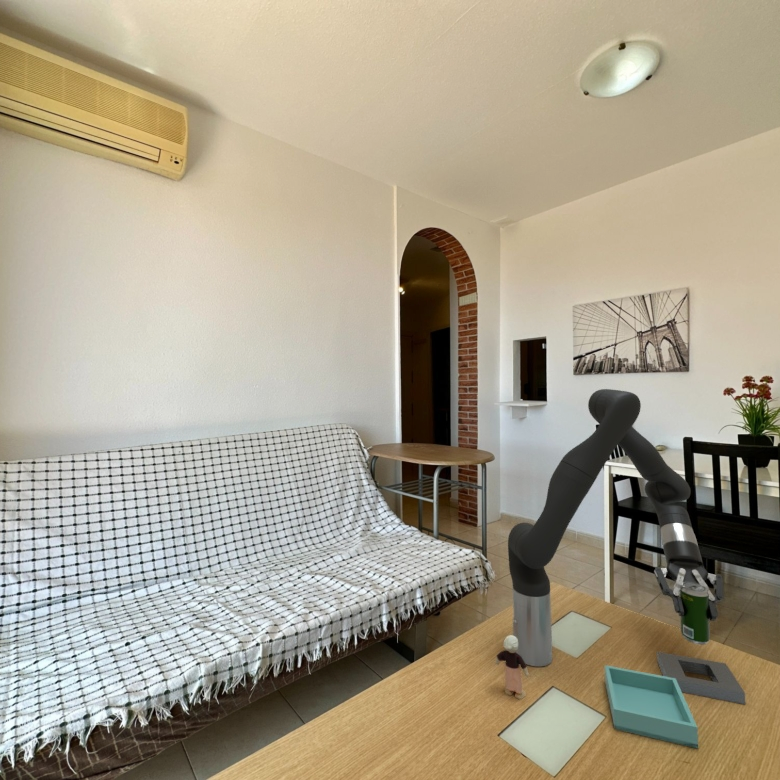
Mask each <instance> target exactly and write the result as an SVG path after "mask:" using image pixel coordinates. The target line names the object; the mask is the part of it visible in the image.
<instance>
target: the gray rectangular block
mask: <svg viewBox="0 0 780 780" xmlns="http://www.w3.org/2000/svg"><path fill="white" fill-rule="evenodd" d="M656 659H657V661H656V662H657V664H658V668H659V669H660V673H661V676H665V677H671V678H676V680H677V683H678V685H679V687H680V689H681V692H682V693H686V694H690V695H695V696H699V697H700V696H701V697H705V698H711V699H714V700H715V699H716V700H720V701H726V702H731V703H736V704H741V705H746V692H745V691H744V689H743V687H742V686H741V684H740V683H739V681H738V680H737V679H736V677H735V676H734V674H733V671H731V669H730V668H729V666H728V664H727V663H726V662H719V661H714V660H708V659H701V658H696V657H691V656H684V655H678V654H672V653H666V652H662V651H661V652H660V651H656ZM687 672H688V673H693V674H698V675H704V676H708V677H709V678H710V680H708V679H707V680H706V679H701V678H696V677H691V676H687V675H686V674H685V673H687Z"/></svg>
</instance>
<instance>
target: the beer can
mask: <svg viewBox="0 0 780 780" xmlns="http://www.w3.org/2000/svg"><path fill="white" fill-rule="evenodd" d="M679 597H681V600H682V605H683V609H684V615H683V616H680V633H681V635H682V637H683V639H684V640H686V641H687V642H690V643H692V644H695V645H701V646H702V645H703V646H704V645H707V644H708V643H709V641H710V638H711V637H710V635H711V634H710V619H709V594H708V592H707V588H706V587H705V586H703V585H700V584H698V583H693V582H682V583H681V587H680V594H679Z"/></svg>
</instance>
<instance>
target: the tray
mask: <svg viewBox="0 0 780 780" xmlns="http://www.w3.org/2000/svg"><path fill="white" fill-rule="evenodd" d="M604 680H605V681H604V683H605V688H606V693H607V698H608V703H609V708H610V712H611V717H612V724H613V728H614V730H617V731H621V732H626V733H629V734H634V735H639V736H642V737H646V738H652V739H655V740H659V741H662V742H663V741H664V742H668V743H672V744H677V745H680V746H685V747H689V748H690V747H691V748H694V749H699V731H698V726H697V723H696V721H695V719H694V716H693V714H692V713H691V709H690V708H689V705H688V703H687V701H686V698H685V696H684V694H683V692H681V689H680V687H679V685H678V683H677V680H676V678H671V677H665V676H663V675H659V674H654V673H649V672H643V671H639V670H638V671H637V670H633V669H627V668H622V667H616V666H611V665H606V664H605V665H604Z"/></svg>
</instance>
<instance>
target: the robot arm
mask: <svg viewBox="0 0 780 780" xmlns="http://www.w3.org/2000/svg"><path fill="white" fill-rule="evenodd" d="M587 405H588V406H587V408H588V411H589V414H590V416H592V418H593V419H594V421H596V422H597V423H598V426H597V428H596V429H595V431H594V432H592V434H591V435H589V436H588V437H587V438H586V439H585V440H584V441H582V442H579V444H578V445H576V446H574V447H573V448H572V449H570V450H568V452H567V453H565V455H563V457H562V458H561V460H560V461H559V463H558V465H557V467H556V468H555V469H554V471H553V473H552V475H551V478H550V479H549V483H548V487H547V494H546V500H545V505H544V507H543V509H542V512H541V513H540V515H539V517H538V519H537V520H536V521H535V524H532V523H528V522H520V523H517V524H516V525H514V526H513V527H512V528H511V530H510V531H509V534H508V537H507V538H508V539H507V552H508V555H507V557H508V566H509V567H508V568H509V574H510V577H511V581H512V582H511V583H512V603H513V604H512V609H513V614H512V615H513V616H512V635H513V636H515V637H516V638H517V639H518V643H519V644H518V649H517V651H516V653H517V654H519V655H520V656H521V657H522V659H523V661H524V662H525V664H526V665H528V666H532V667H545V666H548V665H550V664H551V663H552V661H553V644H552V643H553V639H552V638H553V636H552V608H551V603H552V602H551V581H550V578H549V576H548V574H547V572H546V569H545V567H546V566H547V565H549V563H551V560H552V559H554V556H555V554H556V552H557V550H558V548H559V545H561V544H560V543H561V542H562V539H563V537H564V535H565V533H566V530H567V529H568V526H569V524H570V522H571V521H572V519H573V518H574V516H575V514H576V512H577V511H578V509H579V507H580V505H582V502H583V500H584V499H585V498H586V496H587V494H588V493H589V492H590V490H591V488H592V486H593V485H594V483H595V482H596V480H597V478H598V476H599V475H600V472H601V471H602V469H603V467H604V466H605V464H606V463H607V461H608V460H609V458H610V457H611V455H612V453H613V452H614V450H616V448H617V447H618V446H619V447H620V448H621V449H622V450H623V452H624V453H625V454H626V456H627V457H628V459H629V460H630V461H631V463H632V464H633V466H634V467H635V469H636V470H637V472H638V473H639V475H640V476H641V477H642V478H643V479H644V480H645V481H647V482H646V483H645V485H644V491H645V495H646V497H647V498H648V500H649V502H650V503H651V505H652V507H653V509H654V510H655V512H656V516H657V520H658V524H659V527H660V528H659V529H660V537H661V538H660V539H661V545H662V549H663V552H664V557H665V561H666V567H660V566H656V567H655V569H654V570H653V574H654V576H655V578H656V581H657V583H658V586H659V588H660V591H661V592H662V593H661V594H662V595H664V596H668V597H670V598H671V599H672V604H673V609H674V611H675V613H676V614H678V616H679V617H681V616H683V615H684V609H683V605H682V600H681V597H680V587H681V583H682V582H693V583H698V584H700V585H703V586H705V587H706V588H707V592H708V594H709V622H710V621H711V622H715V621H716V620H717V619H718V618H719V612H718V608H717V605H716V603H718V604H720V603H722V600H724V598H725V597H724V581H723V575H722V574H720V573H717V574H713V573H709V572H708V571H707V569H706V568H705V565H704V562H703V558H702V555H701V552H700V548H699V545H698V541H697V540H698V539H697V538H696V534H695V533H694V529H693V526H692V522H691V519H690V515H689V512H688V511H687V509H686V508H685V507H683V506H680V505H677V504H676V505H675V504H674V503H676V502H677V503H678V502H679V503H680V502H683V501H687V500H688V499H689V498H690V496H691V487H690V485H689V483H688V482H687V480H685V478H684V477H683V476H682V475H680V474H679V473H678V472H677V471H675V470H674V469H673V468H672V467H670V466H669V465H668V464H667V463H666V461H665V459H664V458H663V457H662V455H661V453H660V452H659V450H658V449H657V448H656V447H655V446H654V444H653V443H652V442H650V441H649V440H648V439H647V438H646V437H644V436H643V435H642V434H641V433H640V432H639V431H637V430H636V428H634V427H633V425H634V424H635V422H636V421H637V419H638V417H639V415H640V414H641V413H640V412H641V408H642V407H641V406H642V404H641V400H640V398H639V396H638V395H637V394H635V393H633V392H630V391H627V390H620V389H619V390H617V389H611V388H610V389H609V388H606V389H605V388H604V389H603V388H602V389H598V390H596V391H595V392H593V393H592V394H591V395H590V397H589V399H588V403H587ZM672 503H673V504H672ZM667 575H668V576H669V577H670V578H671V579H672V580H673V581H674V584H673V588H670V587H669V584H668V582H667V580H666V576H667ZM707 579H708V580H709V581H710V583H711V584H712V585H713V593H712V592H711V590H710V588H709V586H708V584H707V583H706V580H707Z"/></svg>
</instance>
